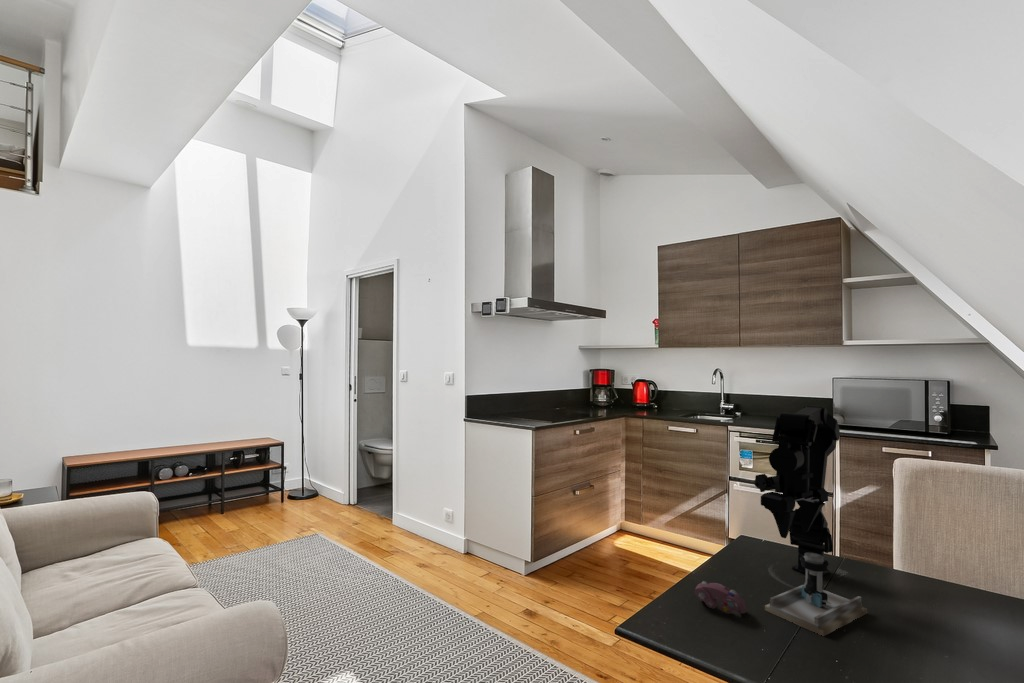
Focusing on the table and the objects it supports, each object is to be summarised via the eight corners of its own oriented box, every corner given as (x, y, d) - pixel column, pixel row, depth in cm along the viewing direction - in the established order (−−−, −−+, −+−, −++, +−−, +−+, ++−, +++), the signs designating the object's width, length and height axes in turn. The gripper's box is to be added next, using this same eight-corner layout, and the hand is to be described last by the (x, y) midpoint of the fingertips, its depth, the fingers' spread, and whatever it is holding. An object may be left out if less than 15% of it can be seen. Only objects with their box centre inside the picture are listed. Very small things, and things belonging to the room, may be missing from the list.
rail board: (809, 591, 121) (809, 578, 121) (867, 613, 111) (867, 599, 111) (764, 610, 111) (764, 596, 112) (823, 636, 101) (823, 620, 101)
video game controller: (695, 610, 114) (690, 586, 112) (702, 594, 117) (697, 570, 115) (742, 626, 108) (738, 601, 105) (749, 609, 111) (744, 584, 109)
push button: (839, 609, 109) (840, 561, 110) (820, 612, 108) (820, 564, 108) (812, 595, 116) (813, 549, 116) (793, 598, 114) (794, 552, 114)
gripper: (783, 457, 134) (783, 518, 133) (739, 464, 124) (739, 530, 123) (829, 465, 124) (829, 531, 124) (785, 473, 114) (785, 545, 114)
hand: (794, 534), depth 122 cm, fingers open, 9 cm apart
